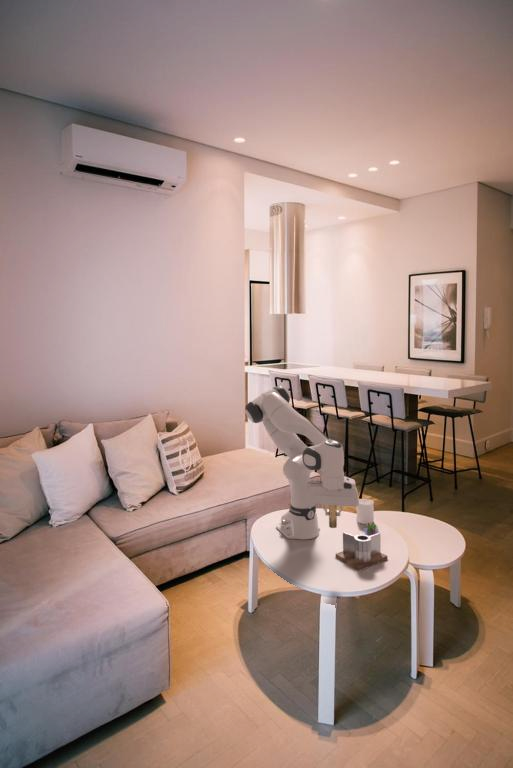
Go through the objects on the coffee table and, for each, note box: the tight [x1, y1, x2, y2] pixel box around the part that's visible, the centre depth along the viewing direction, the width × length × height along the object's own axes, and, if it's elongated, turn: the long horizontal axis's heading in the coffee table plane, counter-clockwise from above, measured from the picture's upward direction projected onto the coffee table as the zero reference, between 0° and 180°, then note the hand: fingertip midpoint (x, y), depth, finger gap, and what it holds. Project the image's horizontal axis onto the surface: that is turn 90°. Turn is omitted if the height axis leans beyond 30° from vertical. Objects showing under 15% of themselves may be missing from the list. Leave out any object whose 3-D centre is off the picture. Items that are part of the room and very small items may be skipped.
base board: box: [335, 550, 388, 571], centre depth 195 cm, size 14×16×2 cm
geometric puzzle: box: [362, 523, 380, 536], centre depth 214 cm, size 7×7×8 cm
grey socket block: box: [342, 531, 382, 563], centre depth 195 cm, size 13×13×9 cm
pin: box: [328, 505, 338, 529], centre depth 185 cm, size 3×3×12 cm
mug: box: [355, 498, 375, 525], centre depth 235 cm, size 12×8×10 cm
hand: (332, 515), depth 185 cm, fingers closed on pin, 3 cm apart
